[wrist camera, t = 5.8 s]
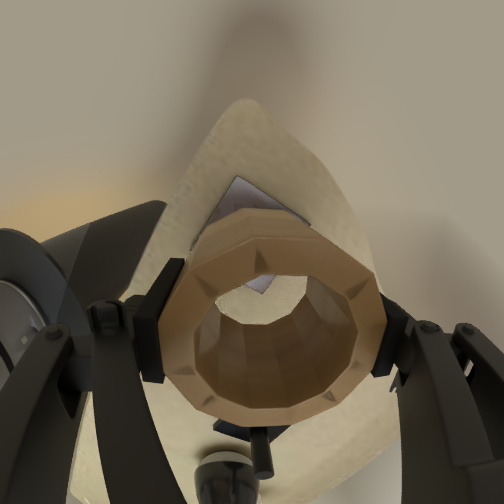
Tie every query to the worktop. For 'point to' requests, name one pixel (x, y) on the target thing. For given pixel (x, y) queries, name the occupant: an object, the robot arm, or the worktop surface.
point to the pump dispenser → (226, 479)
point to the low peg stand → (246, 197)
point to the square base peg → (255, 444)
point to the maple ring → (276, 333)
